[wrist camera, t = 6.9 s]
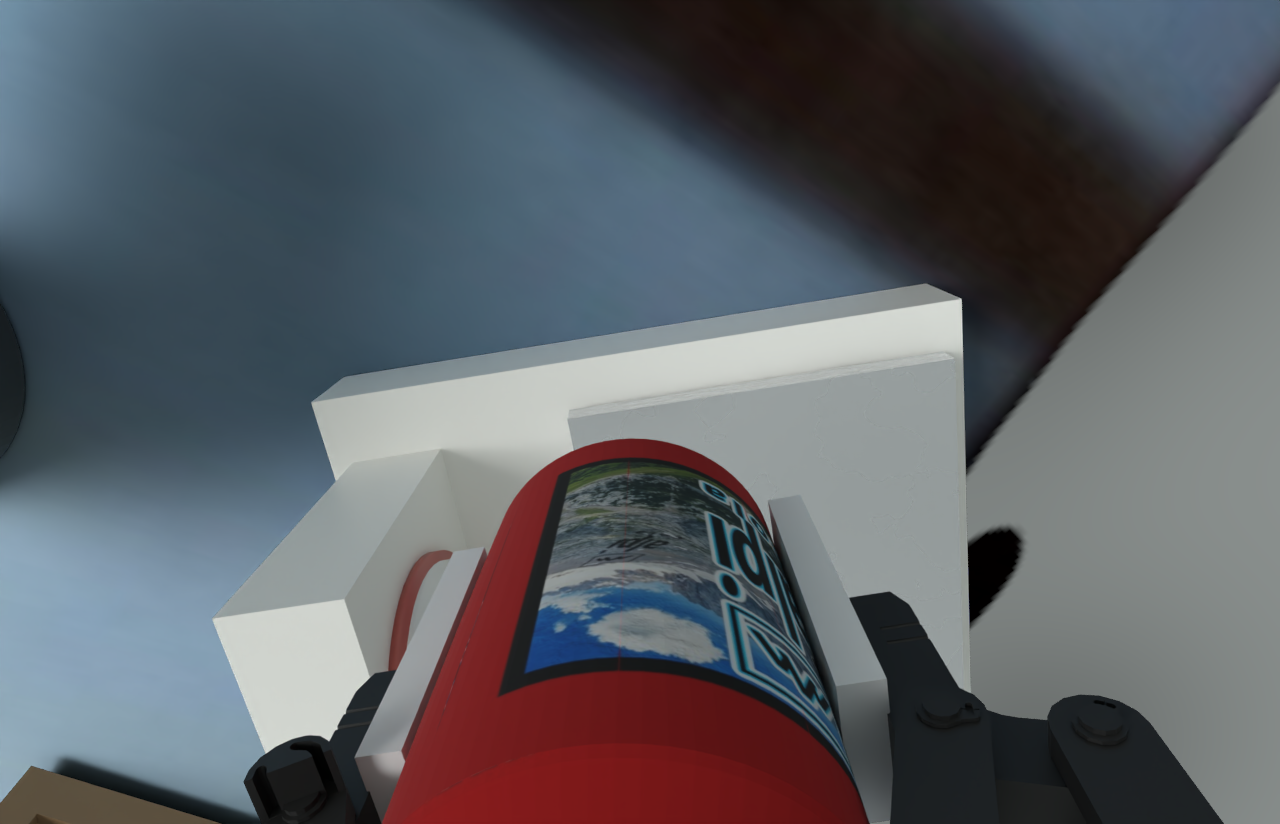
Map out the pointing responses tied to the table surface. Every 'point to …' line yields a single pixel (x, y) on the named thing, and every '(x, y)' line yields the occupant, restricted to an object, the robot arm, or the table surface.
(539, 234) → the table surface
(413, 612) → the scale
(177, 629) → the table surface
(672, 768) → the beverage can
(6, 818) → the photo frame
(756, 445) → the weighing pan
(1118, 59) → the table surface
